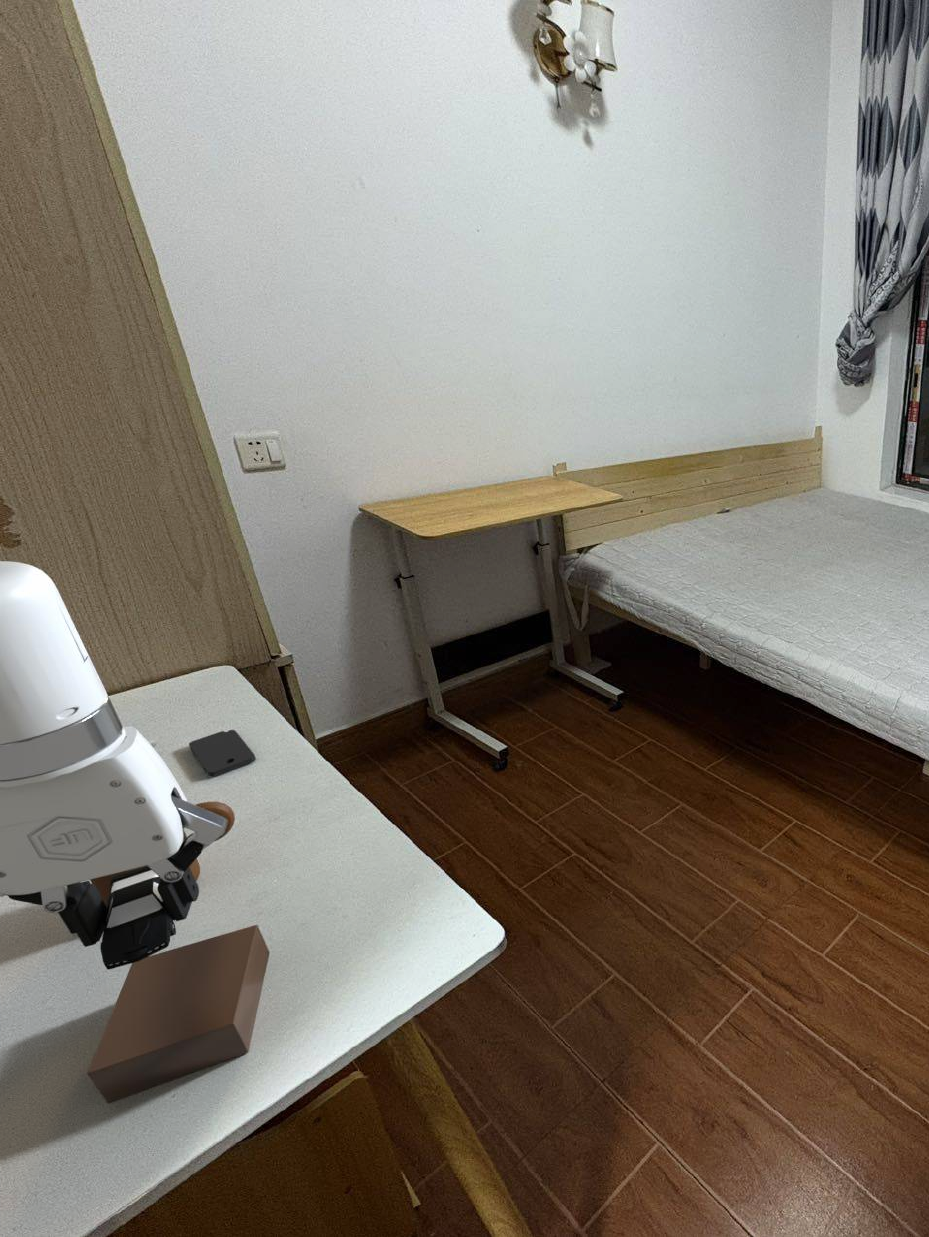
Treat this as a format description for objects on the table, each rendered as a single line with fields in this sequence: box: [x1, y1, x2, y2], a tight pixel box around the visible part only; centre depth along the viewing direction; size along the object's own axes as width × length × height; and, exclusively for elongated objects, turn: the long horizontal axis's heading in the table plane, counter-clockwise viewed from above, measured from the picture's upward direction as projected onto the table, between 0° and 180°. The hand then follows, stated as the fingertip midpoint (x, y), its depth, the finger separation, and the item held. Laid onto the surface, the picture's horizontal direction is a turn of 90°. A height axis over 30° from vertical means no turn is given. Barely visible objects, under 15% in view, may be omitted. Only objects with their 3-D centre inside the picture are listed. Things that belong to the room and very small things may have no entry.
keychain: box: [188, 729, 257, 778], centre depth 92 cm, size 5×1×10 cm
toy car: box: [99, 866, 177, 970], centre depth 54 cm, size 10×4×3 cm, turn 40°
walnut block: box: [86, 924, 270, 1104], centre depth 59 cm, size 9×11×4 cm
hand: (142, 917), depth 55 cm, fingers closed on toy car, 4 cm apart
